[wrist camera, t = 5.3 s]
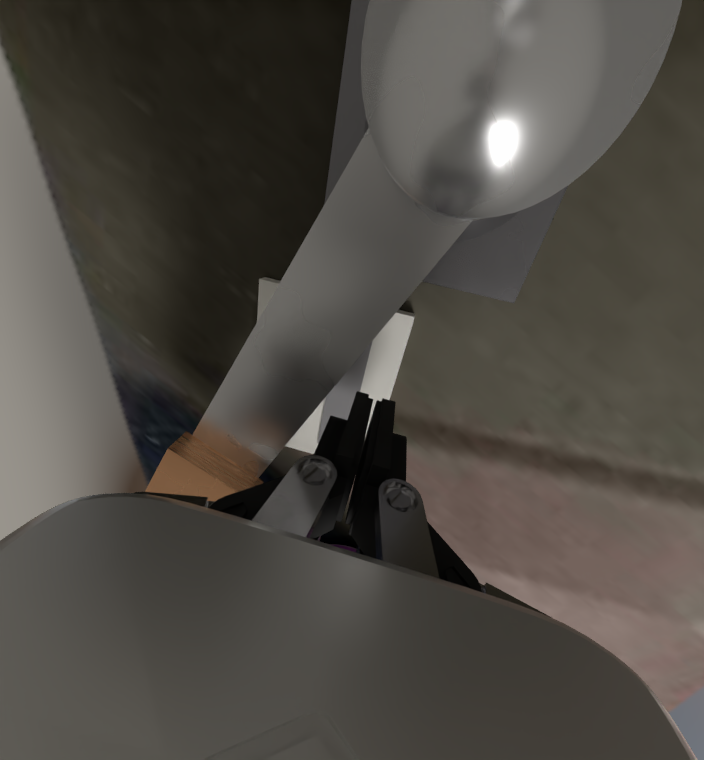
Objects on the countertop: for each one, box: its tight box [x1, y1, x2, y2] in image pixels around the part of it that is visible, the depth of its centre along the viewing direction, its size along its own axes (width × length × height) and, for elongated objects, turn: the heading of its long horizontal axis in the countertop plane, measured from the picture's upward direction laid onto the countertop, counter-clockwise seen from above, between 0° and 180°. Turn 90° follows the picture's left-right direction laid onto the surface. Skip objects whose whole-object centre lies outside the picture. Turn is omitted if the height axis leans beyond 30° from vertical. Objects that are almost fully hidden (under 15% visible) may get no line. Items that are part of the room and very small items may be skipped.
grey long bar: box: [145, 0, 682, 501], centre depth 9 cm, size 20×4×4 cm, turn 143°
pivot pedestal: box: [324, 0, 568, 303], centre depth 9 cm, size 8×8×4 cm
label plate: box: [257, 277, 415, 454], centre depth 15 cm, size 9×7×1 cm
